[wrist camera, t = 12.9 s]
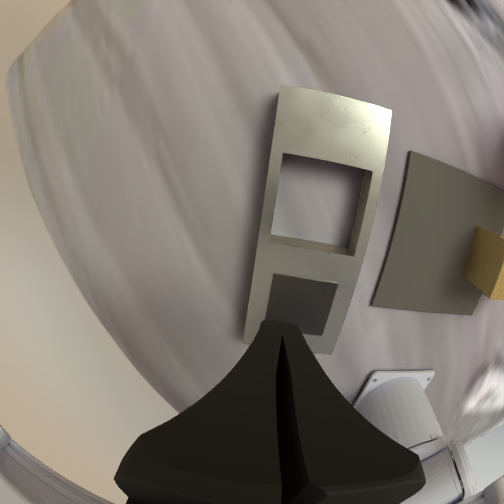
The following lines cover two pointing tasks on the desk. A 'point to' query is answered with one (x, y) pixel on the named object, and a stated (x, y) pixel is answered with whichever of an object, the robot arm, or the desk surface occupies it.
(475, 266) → the brass rectangular block
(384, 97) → the desk surface
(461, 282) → the mat
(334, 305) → the grey plate with hole
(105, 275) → the desk surface
